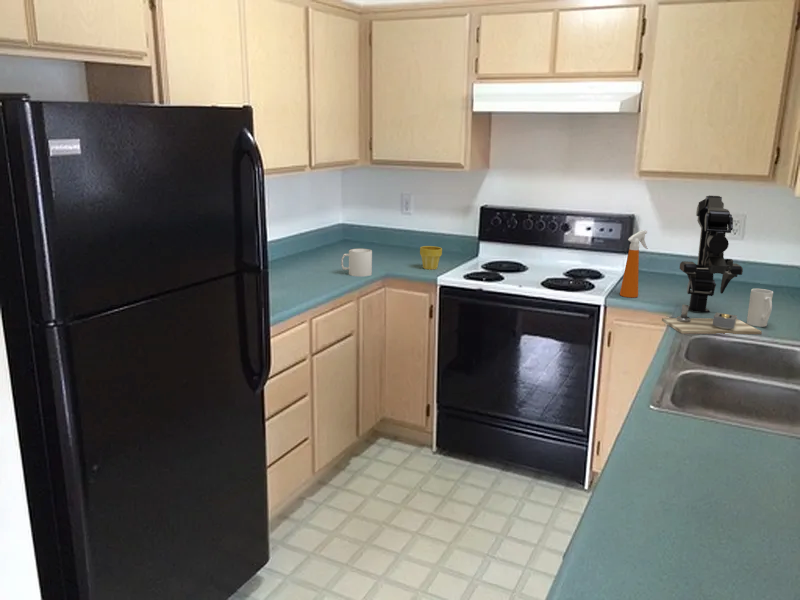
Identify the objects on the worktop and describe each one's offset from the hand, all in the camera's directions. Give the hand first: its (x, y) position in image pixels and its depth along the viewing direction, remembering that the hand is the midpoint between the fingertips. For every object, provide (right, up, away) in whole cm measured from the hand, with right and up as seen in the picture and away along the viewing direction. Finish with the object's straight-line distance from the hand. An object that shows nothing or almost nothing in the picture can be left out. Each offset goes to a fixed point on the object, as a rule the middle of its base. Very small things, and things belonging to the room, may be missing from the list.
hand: (707, 292), depth 224 cm
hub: (+3, -12, -4) cm, 13 cm away
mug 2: (+19, -12, +3) cm, 23 cm away
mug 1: (-124, +9, +69) cm, 142 cm away
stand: (-7, -11, +3) cm, 13 cm away
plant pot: (-91, +12, +85) cm, 125 cm away
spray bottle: (-11, -1, +42) cm, 43 cm away
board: (+1, -12, -1) cm, 12 cm away
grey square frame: (+4, -11, -5) cm, 12 cm away
